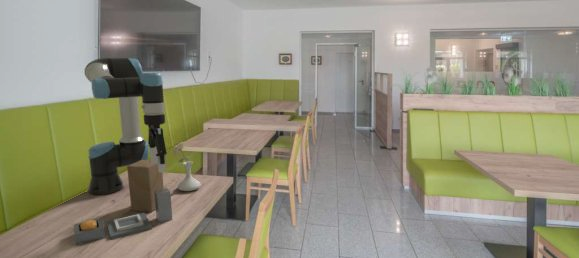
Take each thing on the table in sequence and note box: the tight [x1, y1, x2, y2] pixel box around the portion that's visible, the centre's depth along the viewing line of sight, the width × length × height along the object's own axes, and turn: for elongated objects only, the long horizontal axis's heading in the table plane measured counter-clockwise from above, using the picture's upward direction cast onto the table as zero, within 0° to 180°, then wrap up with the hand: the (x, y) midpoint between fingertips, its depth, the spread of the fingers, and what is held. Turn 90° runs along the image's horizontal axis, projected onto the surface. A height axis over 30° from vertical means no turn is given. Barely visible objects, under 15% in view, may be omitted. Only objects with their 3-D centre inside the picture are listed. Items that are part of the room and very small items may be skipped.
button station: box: [73, 217, 106, 246], centre depth 121 cm, size 9×9×4 cm
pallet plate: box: [106, 212, 153, 240], centre depth 128 cm, size 14×14×2 cm
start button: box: [80, 219, 97, 231], centre depth 121 cm, size 5×5×3 cm
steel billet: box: [154, 187, 173, 224], centre depth 134 cm, size 5×5×12 cm
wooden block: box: [126, 159, 165, 213], centre depth 144 cm, size 10×10×20 cm
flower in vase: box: [172, 141, 202, 192], centre depth 164 cm, size 13×11×25 cm
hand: (158, 167), depth 130 cm, fingers open, 13 cm apart
